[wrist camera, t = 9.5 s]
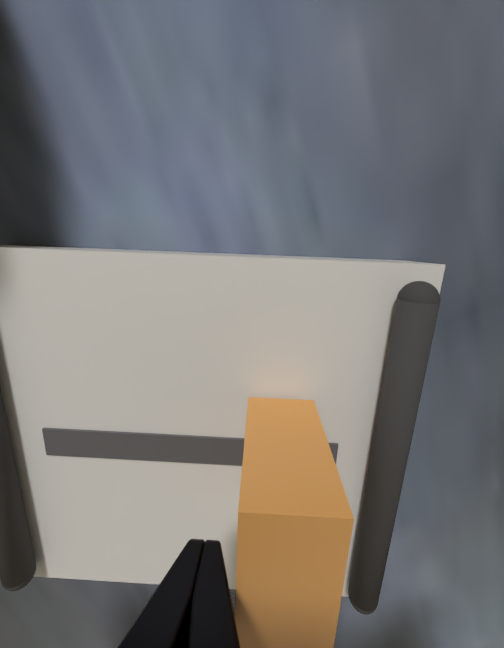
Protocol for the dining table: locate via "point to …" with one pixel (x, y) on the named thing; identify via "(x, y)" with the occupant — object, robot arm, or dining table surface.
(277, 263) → the box
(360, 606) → the pair of mounting rails
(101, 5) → the dining table surface
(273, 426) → the handle
